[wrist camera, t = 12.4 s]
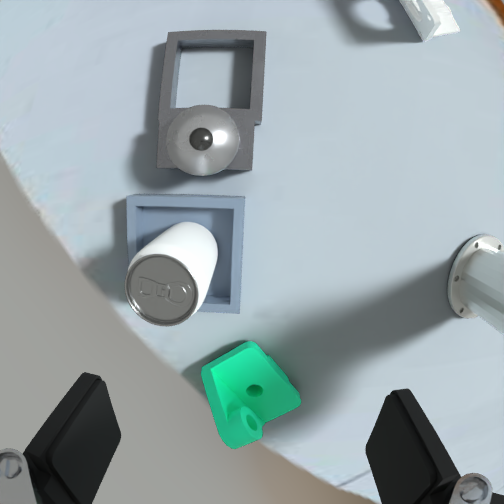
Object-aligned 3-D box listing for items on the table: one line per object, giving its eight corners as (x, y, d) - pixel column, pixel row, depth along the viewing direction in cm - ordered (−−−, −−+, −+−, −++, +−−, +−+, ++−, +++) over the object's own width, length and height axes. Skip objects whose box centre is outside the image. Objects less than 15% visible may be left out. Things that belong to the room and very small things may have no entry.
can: (213, 283, 34) (198, 339, 22) (157, 272, 33) (118, 321, 22) (223, 226, 32) (210, 257, 20) (164, 216, 32) (121, 240, 20)
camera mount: (301, 391, 39) (313, 445, 29) (255, 414, 40) (258, 468, 30) (251, 333, 36) (253, 387, 26) (203, 362, 37) (192, 416, 27)
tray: (245, 196, 32) (244, 198, 29) (239, 302, 35) (239, 313, 32) (136, 193, 31) (126, 196, 29) (140, 295, 34) (131, 305, 32)
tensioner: (265, 39, 27) (269, 13, 21) (257, 177, 31) (260, 178, 25) (172, 39, 27) (158, 15, 21) (160, 174, 31) (141, 175, 25)
